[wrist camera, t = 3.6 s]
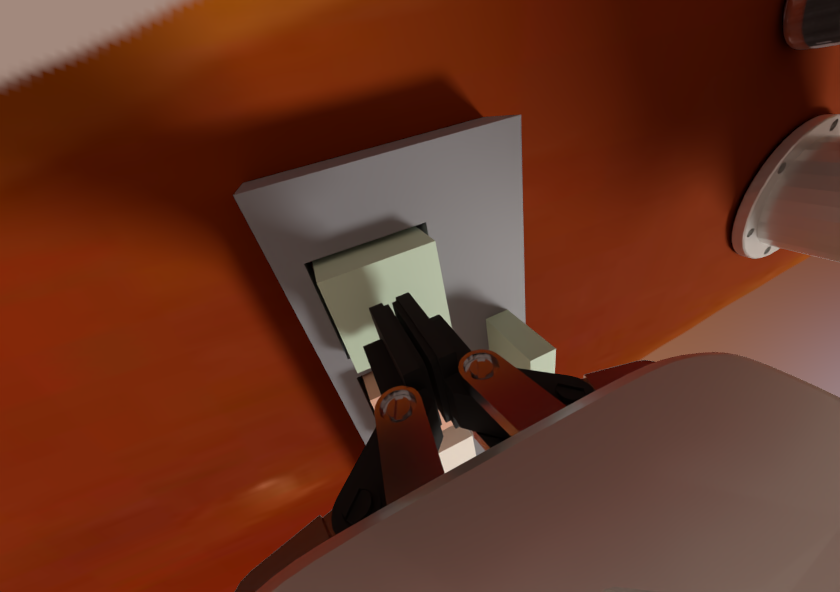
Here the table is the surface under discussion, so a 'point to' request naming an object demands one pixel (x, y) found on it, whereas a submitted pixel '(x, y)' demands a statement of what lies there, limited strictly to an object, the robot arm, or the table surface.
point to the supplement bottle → (811, 23)
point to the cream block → (456, 447)
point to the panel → (400, 209)
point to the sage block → (379, 284)
